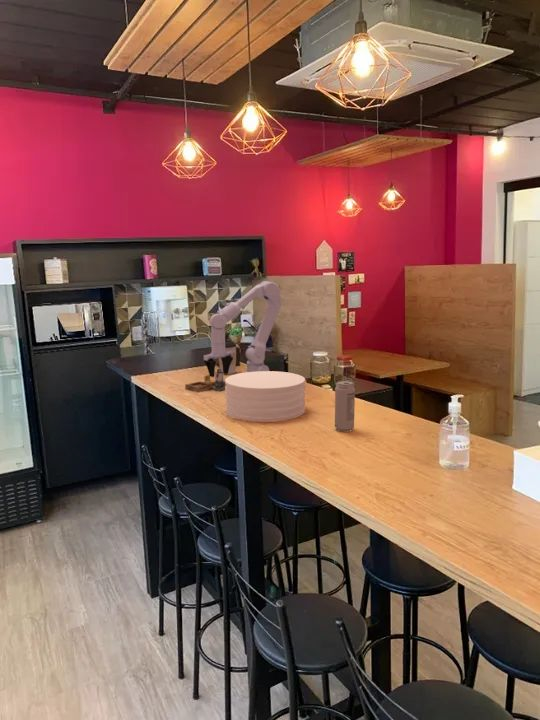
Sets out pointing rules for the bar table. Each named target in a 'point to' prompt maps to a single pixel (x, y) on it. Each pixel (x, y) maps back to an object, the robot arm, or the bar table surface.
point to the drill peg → (218, 378)
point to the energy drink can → (344, 406)
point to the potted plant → (236, 352)
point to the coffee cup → (231, 347)
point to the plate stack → (265, 396)
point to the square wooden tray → (198, 386)
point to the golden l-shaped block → (207, 380)
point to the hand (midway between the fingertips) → (218, 375)
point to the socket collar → (218, 387)
